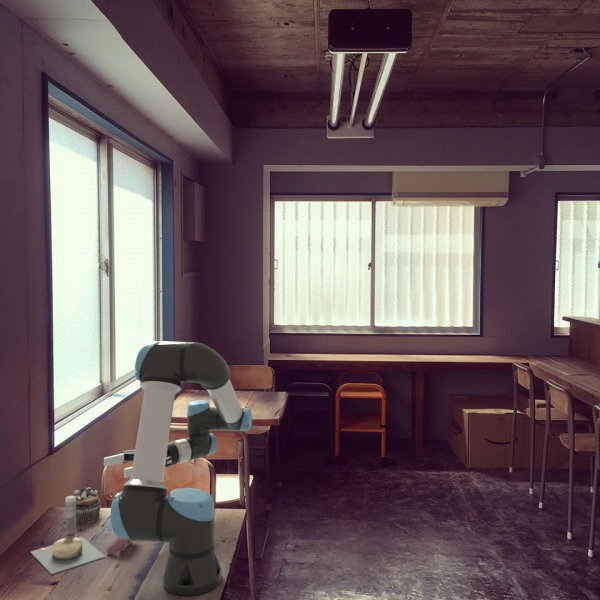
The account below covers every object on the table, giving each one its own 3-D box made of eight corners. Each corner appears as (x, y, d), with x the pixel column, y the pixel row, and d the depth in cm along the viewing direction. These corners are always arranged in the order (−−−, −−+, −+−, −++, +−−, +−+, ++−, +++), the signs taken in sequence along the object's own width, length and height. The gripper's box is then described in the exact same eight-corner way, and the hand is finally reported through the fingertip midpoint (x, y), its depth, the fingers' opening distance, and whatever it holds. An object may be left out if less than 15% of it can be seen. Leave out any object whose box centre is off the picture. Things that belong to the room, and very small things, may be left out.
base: (105, 557, 173) (105, 555, 173) (51, 574, 163) (51, 573, 163) (81, 537, 186) (81, 536, 186) (30, 552, 176) (30, 551, 176)
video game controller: (117, 562, 174) (127, 541, 173) (104, 553, 174) (114, 533, 173) (133, 546, 183) (143, 526, 182) (121, 538, 184) (130, 519, 183)
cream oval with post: (80, 558, 171) (79, 510, 171) (49, 560, 170) (48, 512, 169) (86, 539, 183) (85, 494, 182) (57, 541, 181) (57, 496, 181)
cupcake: (63, 521, 197) (63, 491, 197) (87, 510, 206) (86, 481, 205) (84, 527, 193) (84, 496, 192) (107, 516, 201) (107, 486, 201)
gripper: (195, 473, 194) (134, 491, 180) (155, 455, 212) (96, 469, 198) (194, 450, 194) (133, 466, 179) (154, 433, 212) (96, 446, 198)
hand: (114, 467), depth 189 cm, fingers open, 13 cm apart
